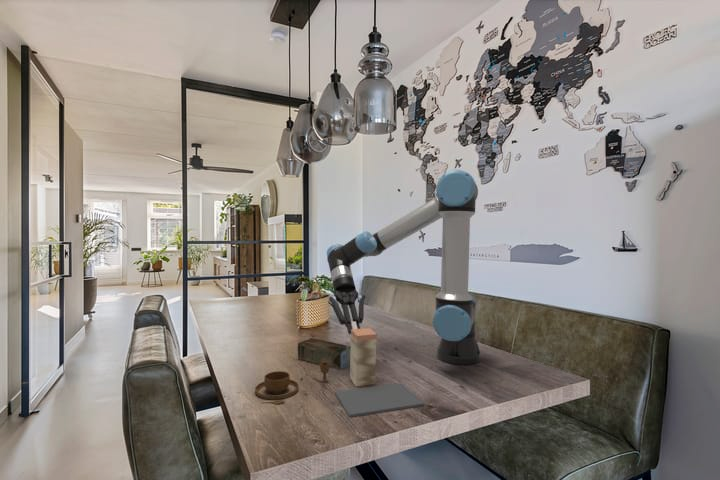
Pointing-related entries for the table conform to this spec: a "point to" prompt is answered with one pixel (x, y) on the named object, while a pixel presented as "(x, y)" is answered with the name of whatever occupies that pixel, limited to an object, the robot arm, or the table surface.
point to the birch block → (363, 356)
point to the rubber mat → (377, 399)
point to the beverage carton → (324, 353)
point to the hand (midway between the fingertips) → (356, 342)
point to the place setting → (282, 384)
